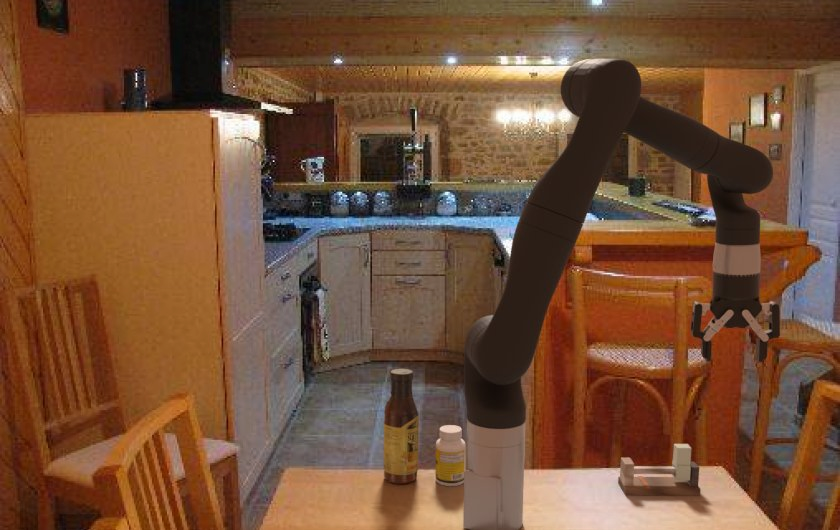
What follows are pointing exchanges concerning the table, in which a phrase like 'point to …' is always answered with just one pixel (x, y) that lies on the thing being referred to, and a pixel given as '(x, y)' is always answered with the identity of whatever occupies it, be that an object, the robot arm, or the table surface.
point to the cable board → (656, 480)
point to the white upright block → (682, 461)
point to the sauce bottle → (401, 430)
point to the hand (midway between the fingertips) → (733, 360)
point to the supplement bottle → (450, 456)
